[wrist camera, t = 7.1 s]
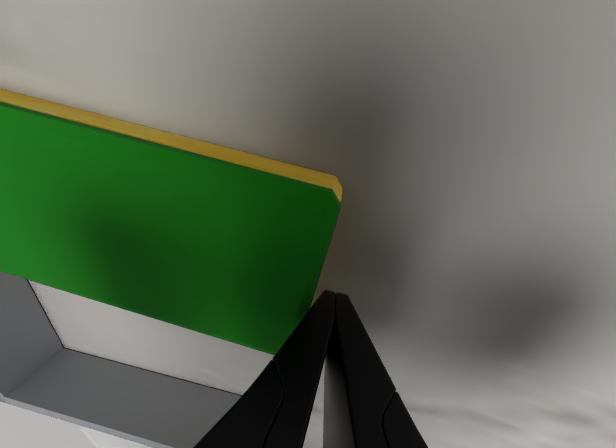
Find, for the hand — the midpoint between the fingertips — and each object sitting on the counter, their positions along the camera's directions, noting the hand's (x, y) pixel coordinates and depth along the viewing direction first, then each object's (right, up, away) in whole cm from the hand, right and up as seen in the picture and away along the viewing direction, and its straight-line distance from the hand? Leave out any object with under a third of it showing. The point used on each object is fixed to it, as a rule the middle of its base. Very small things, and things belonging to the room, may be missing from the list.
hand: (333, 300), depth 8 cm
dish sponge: (-7, +3, +2) cm, 8 cm away
